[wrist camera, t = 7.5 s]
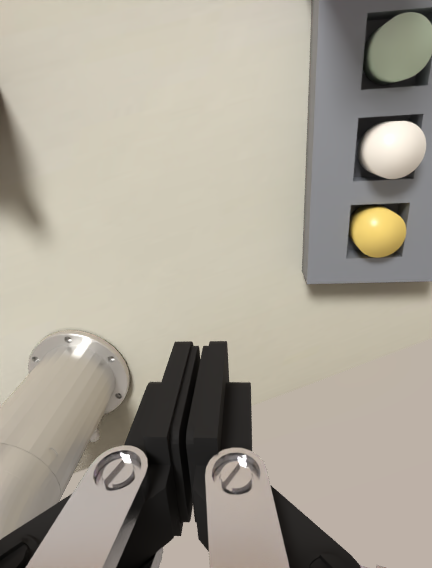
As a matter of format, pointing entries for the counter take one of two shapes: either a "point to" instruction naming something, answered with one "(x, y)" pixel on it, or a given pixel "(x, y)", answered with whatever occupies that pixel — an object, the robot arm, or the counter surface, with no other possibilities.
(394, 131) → the ivory button
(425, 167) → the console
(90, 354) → the robot arm
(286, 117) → the counter surface
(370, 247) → the mustard button
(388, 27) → the sage button
